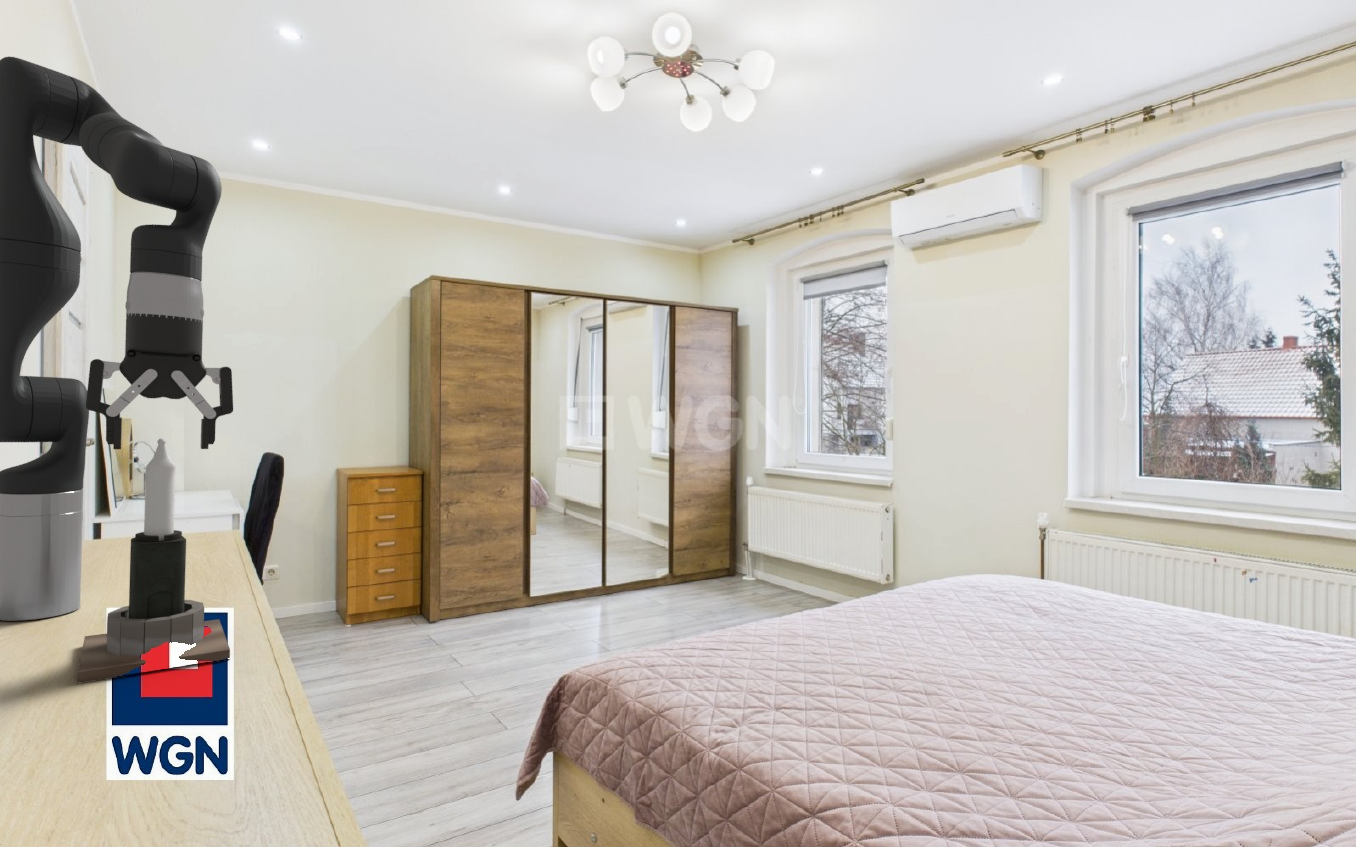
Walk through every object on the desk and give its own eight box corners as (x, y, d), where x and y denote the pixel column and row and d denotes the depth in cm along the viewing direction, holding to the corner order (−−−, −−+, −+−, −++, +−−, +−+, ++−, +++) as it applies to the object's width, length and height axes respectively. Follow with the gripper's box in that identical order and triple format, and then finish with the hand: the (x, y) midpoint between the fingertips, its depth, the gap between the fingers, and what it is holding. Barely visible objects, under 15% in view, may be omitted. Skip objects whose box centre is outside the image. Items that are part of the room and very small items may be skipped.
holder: (84, 645, 87) (85, 604, 87) (219, 628, 96) (220, 590, 95) (76, 683, 76) (78, 635, 76) (229, 659, 84) (230, 616, 84)
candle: (177, 632, 89) (182, 437, 89) (185, 643, 86) (191, 439, 85) (126, 641, 86) (132, 437, 85) (132, 652, 82) (138, 439, 82)
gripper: (231, 323, 92) (228, 447, 93) (90, 310, 84) (87, 446, 84) (238, 319, 86) (234, 451, 87) (87, 305, 78) (83, 451, 78)
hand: (161, 448), depth 85 cm, fingers open, 8 cm apart
